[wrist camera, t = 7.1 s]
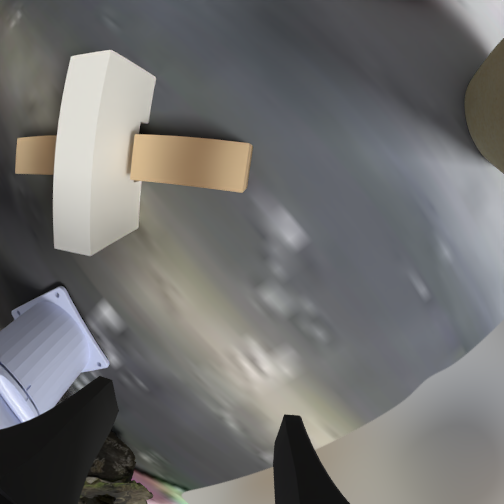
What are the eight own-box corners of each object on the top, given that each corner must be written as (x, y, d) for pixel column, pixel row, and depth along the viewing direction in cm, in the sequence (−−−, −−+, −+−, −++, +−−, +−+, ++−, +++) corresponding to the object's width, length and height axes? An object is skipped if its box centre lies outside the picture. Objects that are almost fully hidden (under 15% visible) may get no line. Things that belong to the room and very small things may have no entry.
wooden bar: (41, 169, 18) (15, 173, 15) (43, 137, 17) (17, 138, 14) (246, 187, 18) (242, 192, 15) (252, 146, 17) (249, 143, 14)
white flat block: (107, 223, 19) (54, 248, 13) (122, 78, 16) (71, 56, 10) (138, 228, 19) (90, 256, 13) (156, 77, 16) (111, 49, 10)
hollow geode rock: (133, 382, 29) (5, 387, 18) (192, 478, 22) (44, 515, 10) (100, 467, 36) (25, 476, 25) (134, 526, 29) (55, 543, 17)
